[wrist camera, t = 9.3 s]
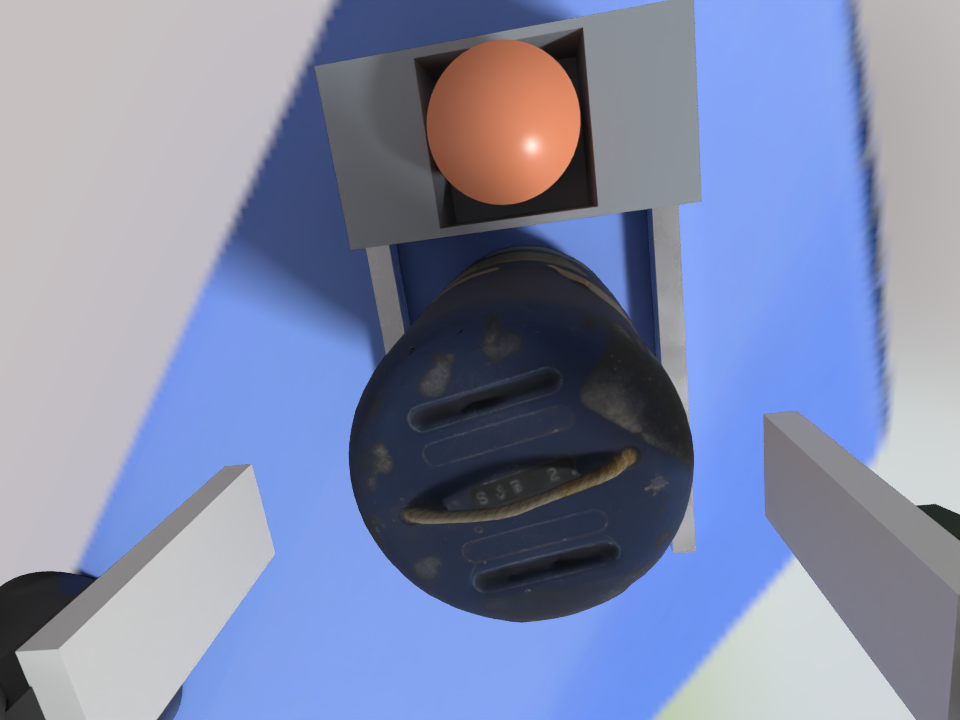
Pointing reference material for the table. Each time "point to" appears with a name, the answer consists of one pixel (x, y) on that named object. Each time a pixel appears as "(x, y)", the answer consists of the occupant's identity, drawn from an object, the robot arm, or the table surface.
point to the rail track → (664, 311)
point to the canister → (522, 443)
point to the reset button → (503, 122)
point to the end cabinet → (601, 144)
